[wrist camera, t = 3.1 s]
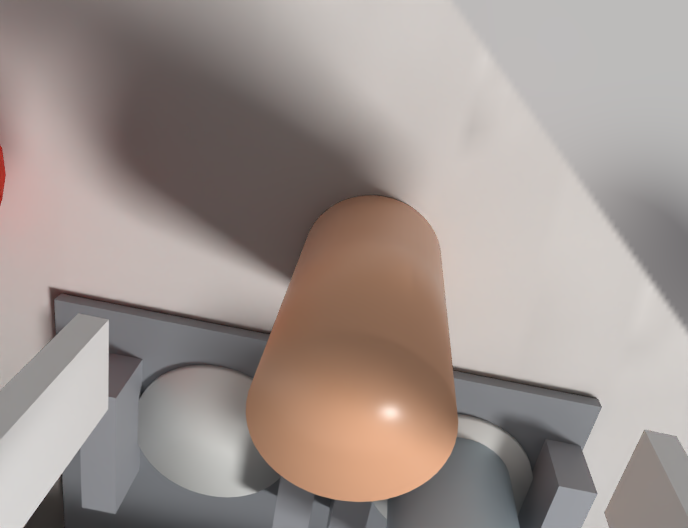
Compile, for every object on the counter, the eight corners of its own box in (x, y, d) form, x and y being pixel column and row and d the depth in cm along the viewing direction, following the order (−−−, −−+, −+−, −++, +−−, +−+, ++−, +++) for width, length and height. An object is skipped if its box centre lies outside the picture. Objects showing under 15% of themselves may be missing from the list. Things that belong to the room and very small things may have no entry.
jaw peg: (314, 182, 22) (257, 312, 14) (456, 210, 22) (482, 356, 14) (295, 305, 24) (236, 479, 16) (423, 330, 24) (430, 518, 16)
